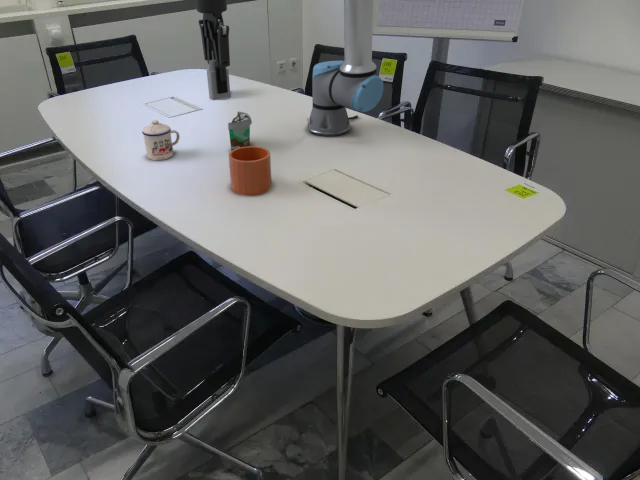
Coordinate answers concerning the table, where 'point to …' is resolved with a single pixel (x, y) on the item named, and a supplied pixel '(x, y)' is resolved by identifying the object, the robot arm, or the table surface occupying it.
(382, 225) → the table surface
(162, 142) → the teacup with lid
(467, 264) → the table surface
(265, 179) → the orange flower pot
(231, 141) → the food container
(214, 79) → the power adapter
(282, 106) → the table surface
